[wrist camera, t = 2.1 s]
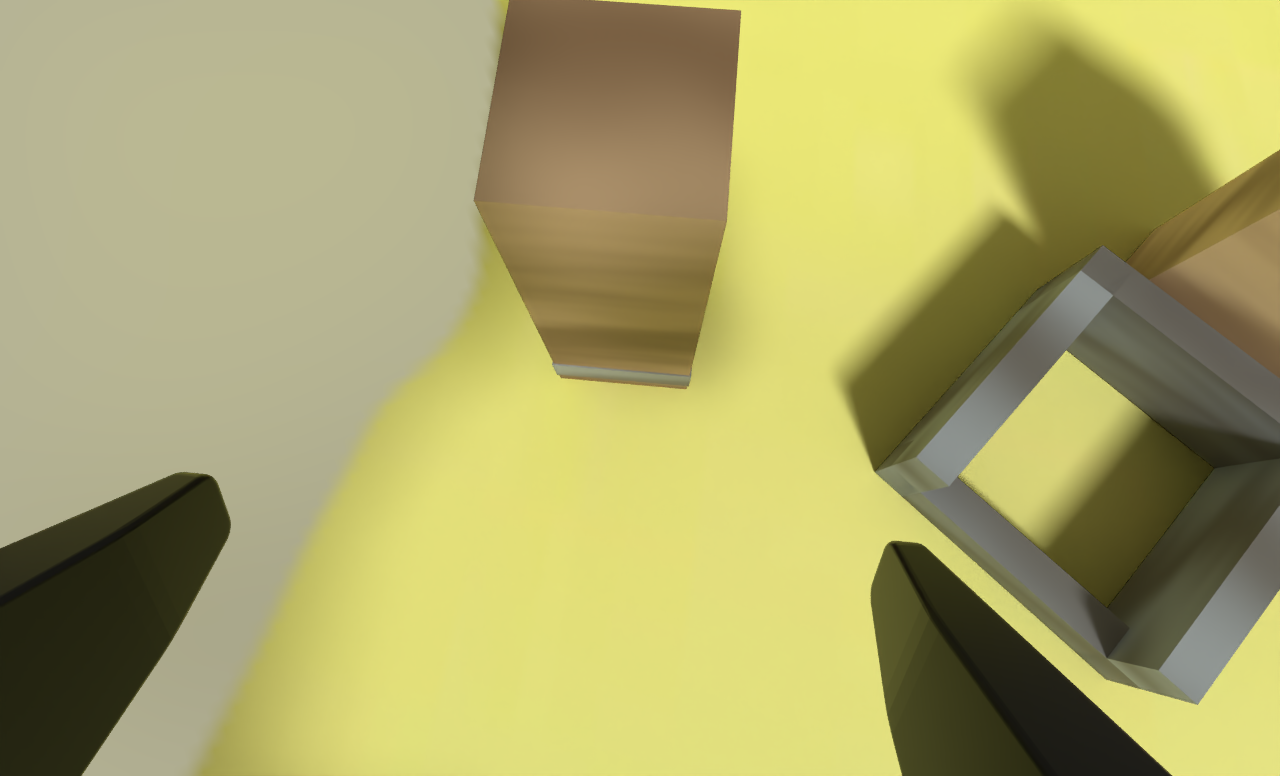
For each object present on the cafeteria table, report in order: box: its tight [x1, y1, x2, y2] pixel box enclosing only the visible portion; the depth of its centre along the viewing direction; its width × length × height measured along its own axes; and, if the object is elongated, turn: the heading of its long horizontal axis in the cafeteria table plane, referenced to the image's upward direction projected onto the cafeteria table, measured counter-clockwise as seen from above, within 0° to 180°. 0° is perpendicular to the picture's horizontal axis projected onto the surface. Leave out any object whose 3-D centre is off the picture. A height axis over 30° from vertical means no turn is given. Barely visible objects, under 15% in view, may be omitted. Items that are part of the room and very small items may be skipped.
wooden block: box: [474, 0, 741, 389], centre depth 18 cm, size 5×5×12 cm
